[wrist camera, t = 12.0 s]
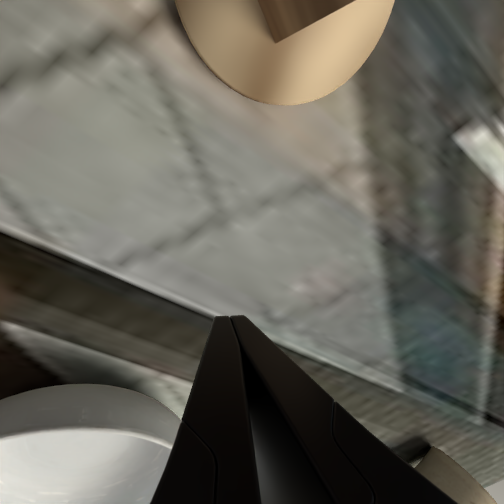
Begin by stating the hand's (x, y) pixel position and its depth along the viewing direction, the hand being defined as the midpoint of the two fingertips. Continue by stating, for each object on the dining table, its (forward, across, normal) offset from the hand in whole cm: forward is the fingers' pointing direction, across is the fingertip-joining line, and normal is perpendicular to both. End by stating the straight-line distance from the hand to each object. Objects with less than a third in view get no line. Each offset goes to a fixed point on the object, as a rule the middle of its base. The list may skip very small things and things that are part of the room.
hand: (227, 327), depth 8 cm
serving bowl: (+13, +9, +23) cm, 28 cm away
